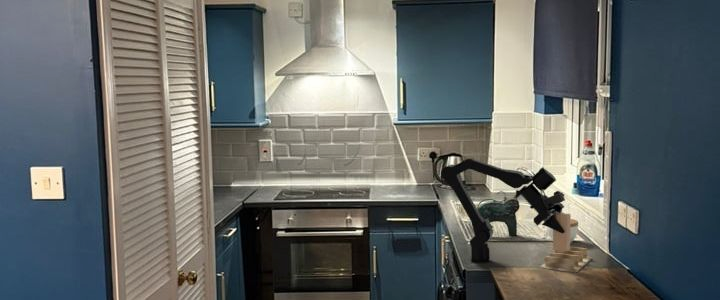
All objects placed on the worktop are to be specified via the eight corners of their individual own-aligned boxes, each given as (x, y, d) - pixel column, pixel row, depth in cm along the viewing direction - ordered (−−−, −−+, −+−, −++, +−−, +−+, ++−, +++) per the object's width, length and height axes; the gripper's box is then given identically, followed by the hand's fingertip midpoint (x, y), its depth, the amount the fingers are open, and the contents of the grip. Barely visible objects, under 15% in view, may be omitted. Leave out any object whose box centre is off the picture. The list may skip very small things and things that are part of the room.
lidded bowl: (581, 240, 270) (581, 215, 269) (573, 247, 259) (573, 220, 259) (552, 237, 277) (551, 212, 276) (543, 243, 266) (542, 217, 265)
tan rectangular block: (566, 251, 227) (567, 215, 225) (552, 249, 229) (553, 214, 228) (569, 249, 229) (570, 213, 228) (556, 247, 232) (556, 212, 231)
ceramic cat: (518, 234, 286) (518, 190, 284) (521, 237, 280) (521, 192, 278) (474, 234, 288) (473, 190, 286) (475, 237, 281) (475, 193, 280)
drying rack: (540, 267, 231) (540, 256, 230) (557, 254, 248) (557, 244, 248) (576, 272, 223) (576, 261, 223) (591, 258, 241) (591, 248, 240)
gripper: (542, 188, 222) (574, 222, 217) (558, 181, 237) (589, 212, 232) (520, 208, 227) (551, 242, 222) (538, 200, 242) (567, 231, 237)
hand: (565, 231), depth 228 cm, fingers closed on tan rectangular block, 3 cm apart
